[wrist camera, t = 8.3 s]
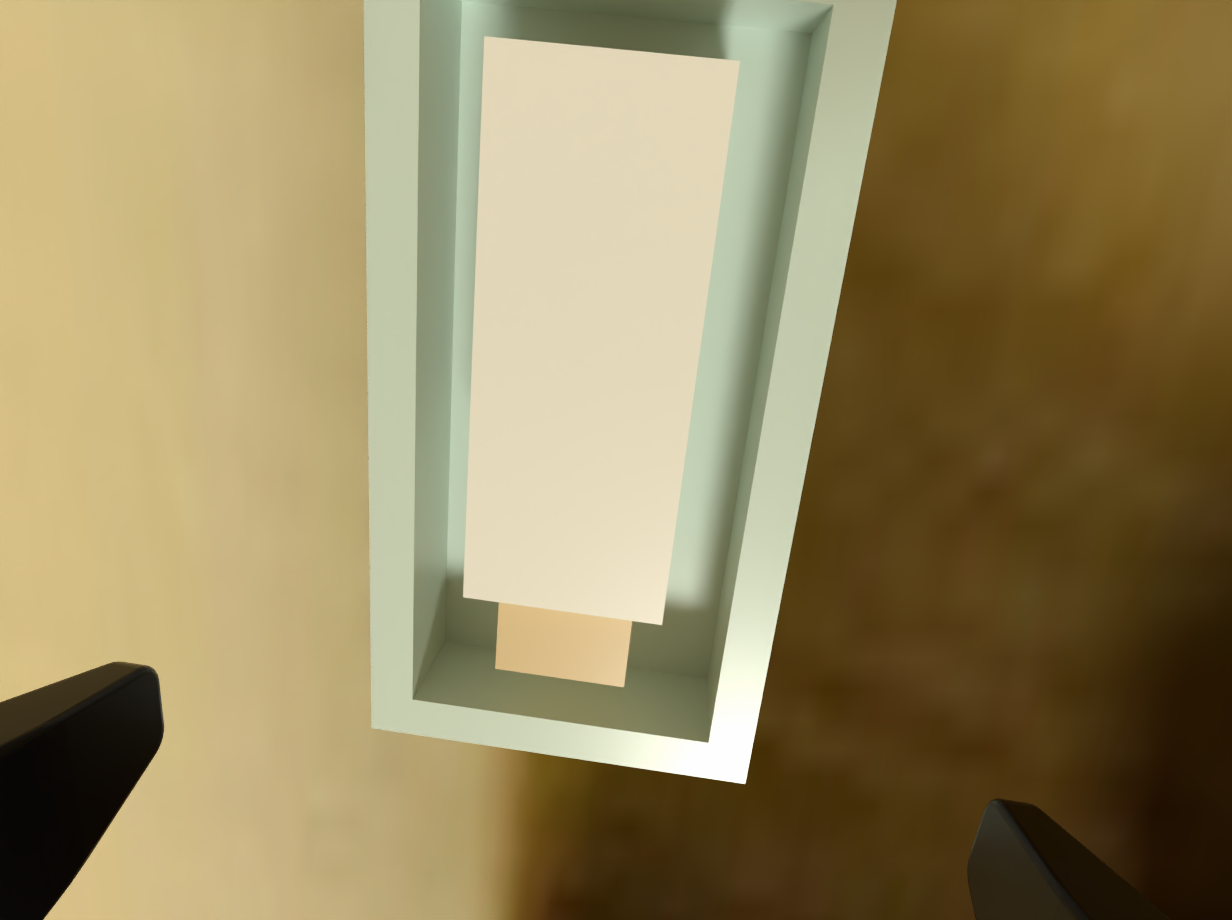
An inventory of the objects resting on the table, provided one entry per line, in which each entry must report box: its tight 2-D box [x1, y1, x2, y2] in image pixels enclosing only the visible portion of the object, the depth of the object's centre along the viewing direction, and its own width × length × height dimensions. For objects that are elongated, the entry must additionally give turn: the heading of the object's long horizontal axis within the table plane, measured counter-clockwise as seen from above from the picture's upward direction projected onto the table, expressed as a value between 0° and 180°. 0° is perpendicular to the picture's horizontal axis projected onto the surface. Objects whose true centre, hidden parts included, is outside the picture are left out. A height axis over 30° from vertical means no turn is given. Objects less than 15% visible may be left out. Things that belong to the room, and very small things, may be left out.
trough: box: [364, 0, 897, 784], centre depth 17 cm, size 9×17×4 cm, turn 174°
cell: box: [463, 36, 740, 687], centre depth 16 cm, size 4×12×4 cm, turn 174°
